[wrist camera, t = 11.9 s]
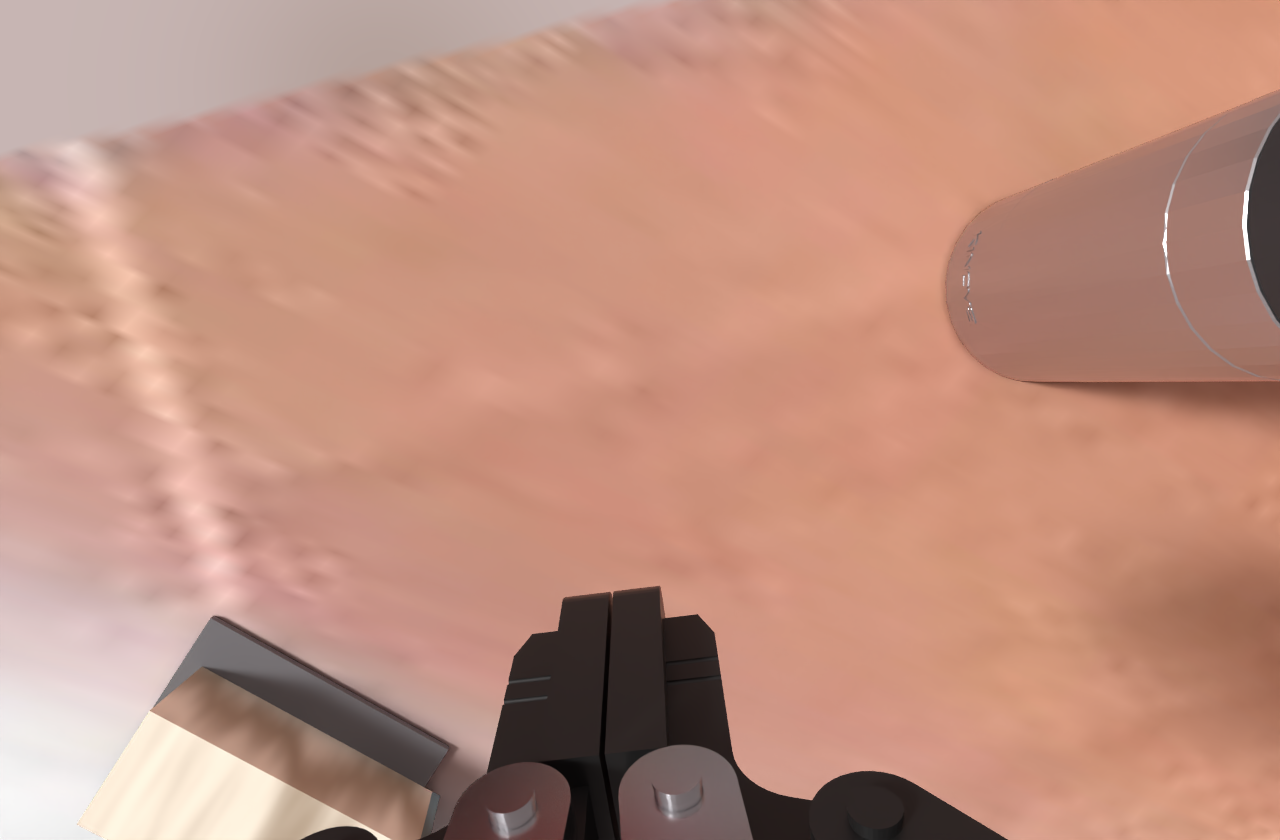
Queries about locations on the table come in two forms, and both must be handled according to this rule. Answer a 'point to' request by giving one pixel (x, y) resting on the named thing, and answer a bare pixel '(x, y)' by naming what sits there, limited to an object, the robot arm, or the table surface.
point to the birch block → (247, 776)
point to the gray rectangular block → (311, 700)
